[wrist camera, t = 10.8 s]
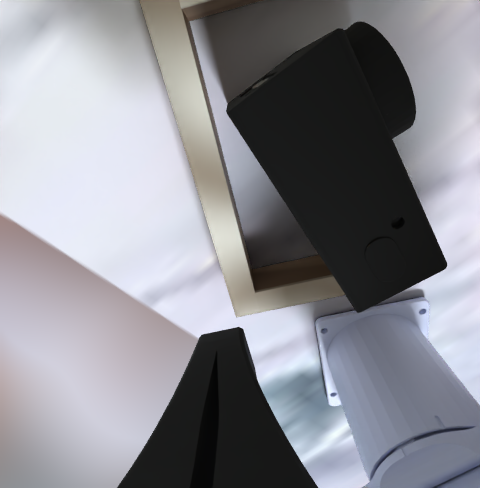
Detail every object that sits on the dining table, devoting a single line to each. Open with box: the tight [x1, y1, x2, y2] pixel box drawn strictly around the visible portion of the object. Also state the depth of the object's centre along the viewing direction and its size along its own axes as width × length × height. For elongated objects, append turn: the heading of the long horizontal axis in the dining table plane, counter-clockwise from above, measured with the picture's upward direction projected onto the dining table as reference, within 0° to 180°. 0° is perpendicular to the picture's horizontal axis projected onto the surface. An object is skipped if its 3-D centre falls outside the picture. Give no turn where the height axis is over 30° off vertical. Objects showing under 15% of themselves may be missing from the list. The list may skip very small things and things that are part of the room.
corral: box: [139, 0, 345, 317], centre depth 16 cm, size 17×11×3 cm, turn 13°
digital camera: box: [226, 22, 447, 313], centre depth 15 cm, size 10×5×7 cm, turn 34°
